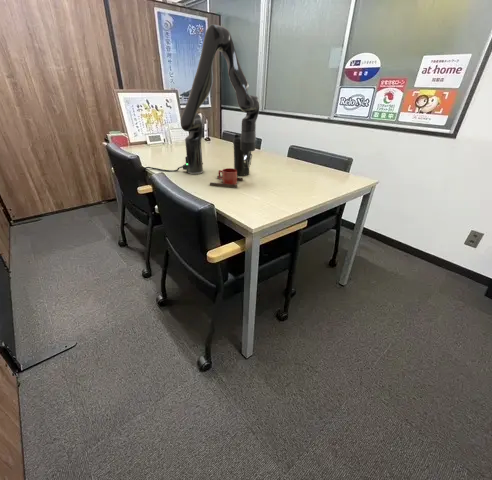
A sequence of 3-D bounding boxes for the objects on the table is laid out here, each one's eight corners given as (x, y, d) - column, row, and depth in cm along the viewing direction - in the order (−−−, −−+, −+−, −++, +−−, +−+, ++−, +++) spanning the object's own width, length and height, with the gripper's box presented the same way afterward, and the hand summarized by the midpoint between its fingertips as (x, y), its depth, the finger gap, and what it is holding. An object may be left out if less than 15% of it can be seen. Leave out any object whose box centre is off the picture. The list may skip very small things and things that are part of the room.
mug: (239, 182, 149) (239, 169, 145) (232, 186, 142) (232, 173, 139) (222, 178, 153) (222, 166, 150) (214, 182, 147) (214, 170, 144)
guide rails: (209, 185, 143) (209, 182, 142) (217, 178, 154) (217, 175, 154) (236, 188, 140) (236, 185, 139) (242, 180, 151) (242, 177, 150)
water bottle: (247, 177, 157) (249, 135, 145) (231, 175, 159) (231, 135, 147) (250, 172, 166) (252, 133, 154) (234, 171, 167) (235, 132, 156)
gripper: (244, 137, 139) (242, 170, 148) (237, 142, 128) (236, 177, 137) (257, 138, 138) (256, 171, 147) (252, 143, 127) (250, 178, 136)
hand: (246, 174), depth 142 cm, fingers closed
